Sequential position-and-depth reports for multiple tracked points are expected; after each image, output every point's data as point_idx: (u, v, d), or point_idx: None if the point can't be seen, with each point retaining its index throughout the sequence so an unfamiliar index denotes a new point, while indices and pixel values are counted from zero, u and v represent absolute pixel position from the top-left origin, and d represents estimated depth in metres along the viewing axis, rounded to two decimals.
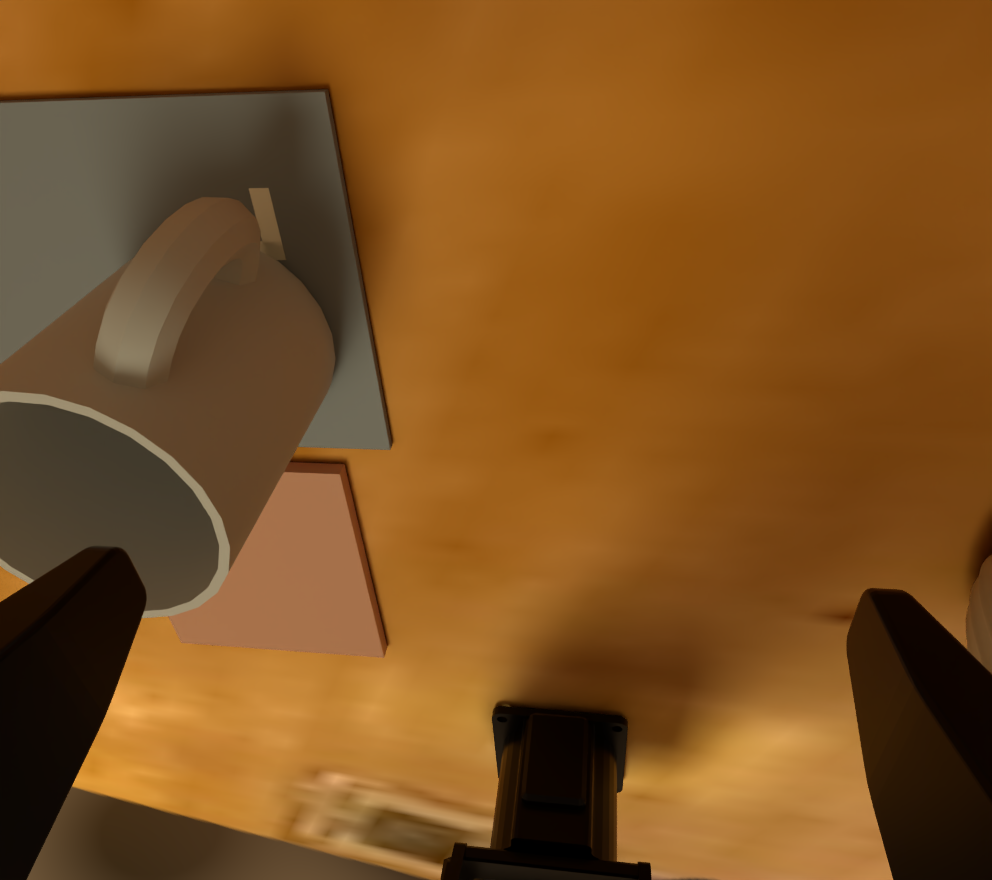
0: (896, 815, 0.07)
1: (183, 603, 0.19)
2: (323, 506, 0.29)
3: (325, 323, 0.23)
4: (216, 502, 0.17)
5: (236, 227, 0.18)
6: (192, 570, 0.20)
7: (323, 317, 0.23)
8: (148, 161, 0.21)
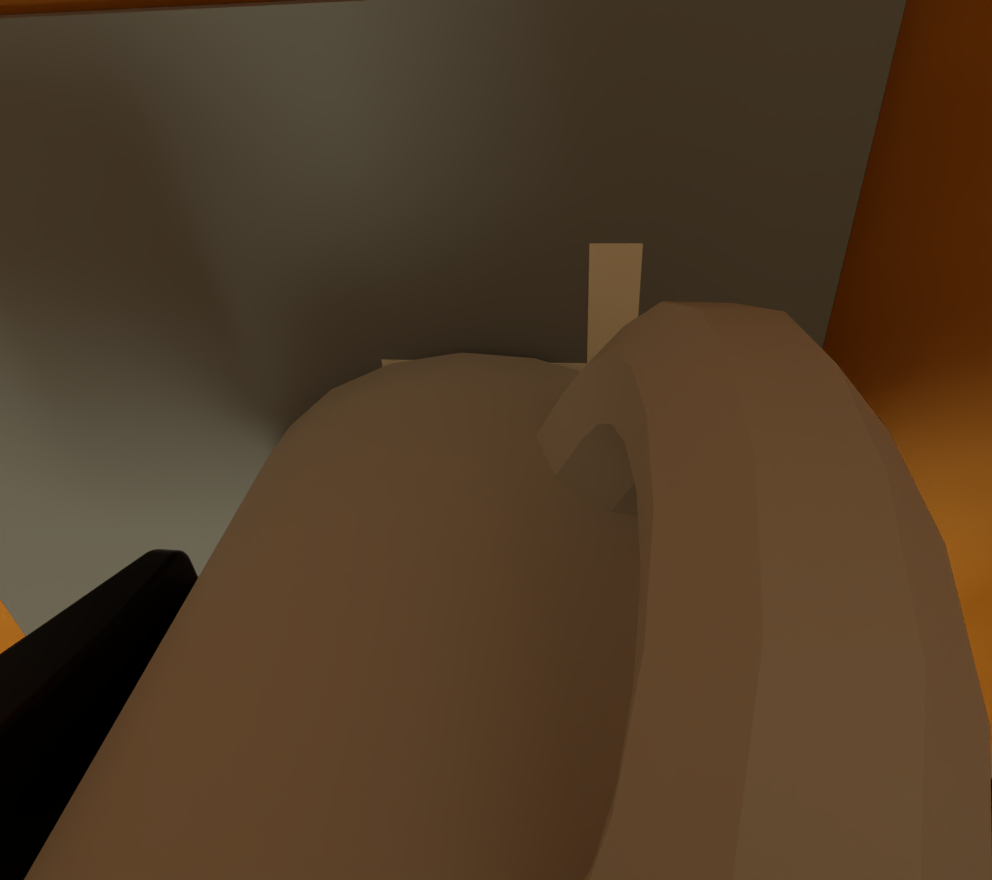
0: None
1: None
2: None
3: None
4: None
5: None
6: None
7: None
8: (338, 175, 0.08)
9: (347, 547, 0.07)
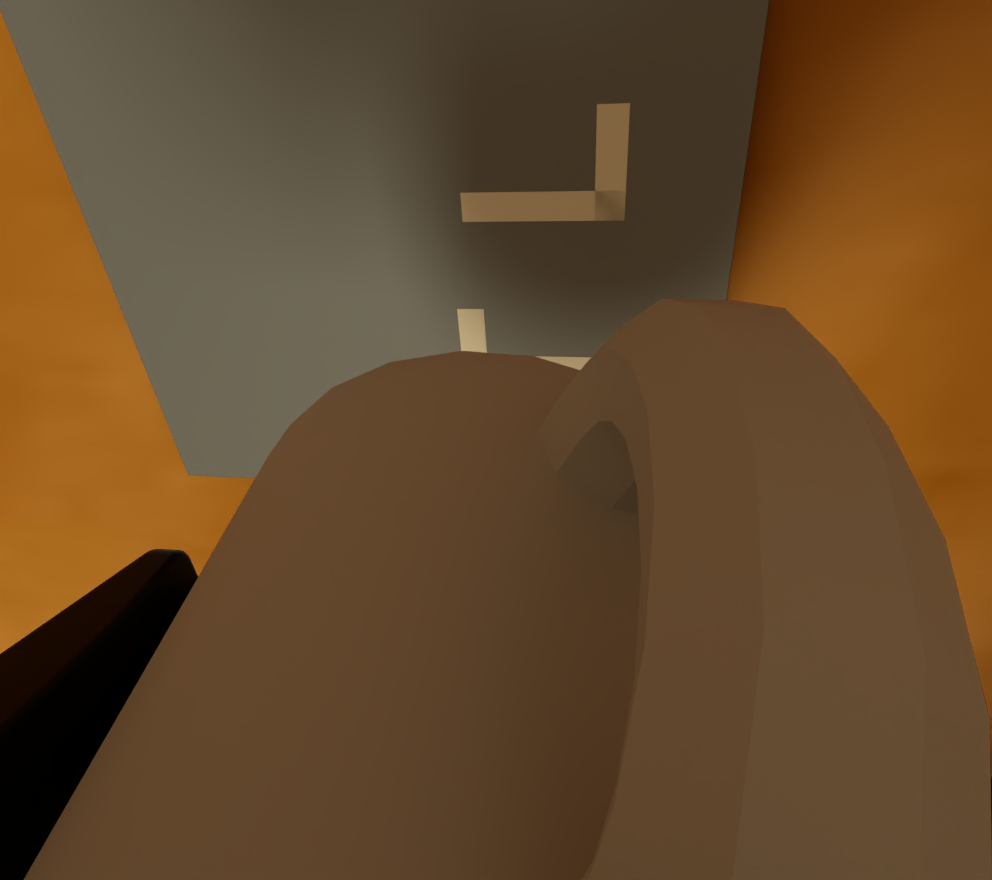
0: None
1: None
2: None
3: None
4: None
5: None
6: None
7: None
8: (441, 61, 0.14)
9: (348, 544, 0.07)
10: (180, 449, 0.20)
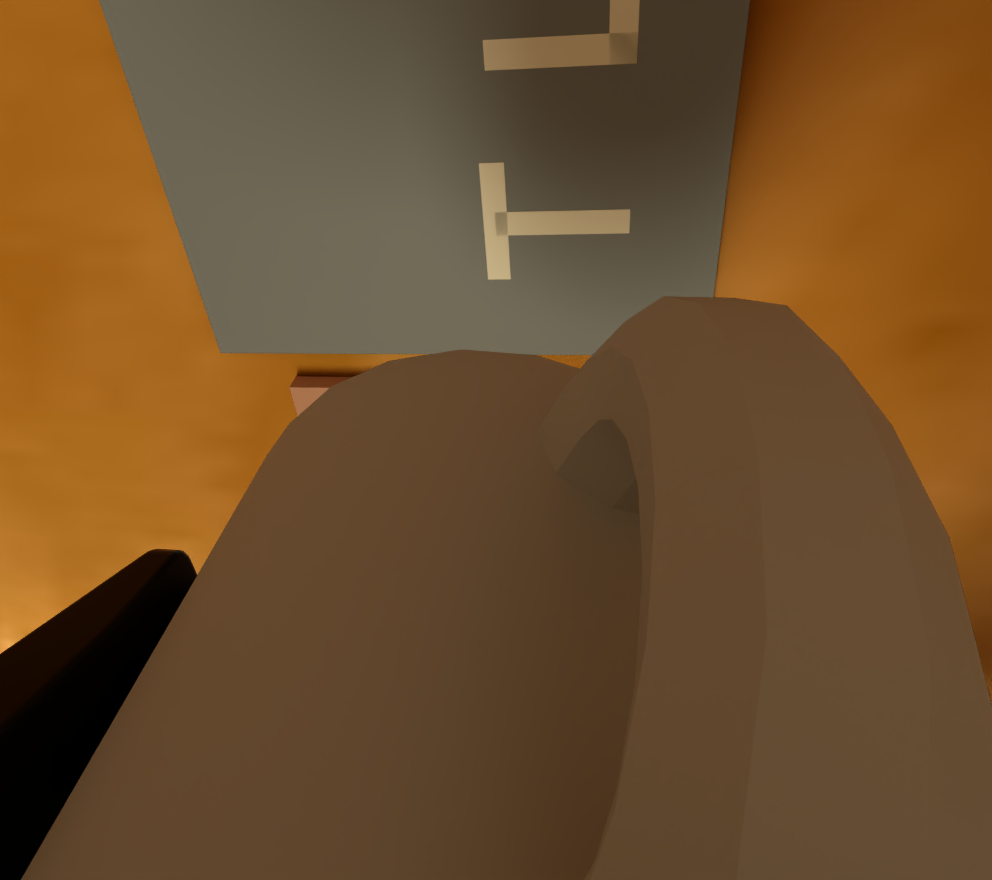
0: None
1: None
2: None
3: None
4: None
5: None
6: None
7: None
8: None
9: (347, 544, 0.07)
10: (213, 325, 0.21)
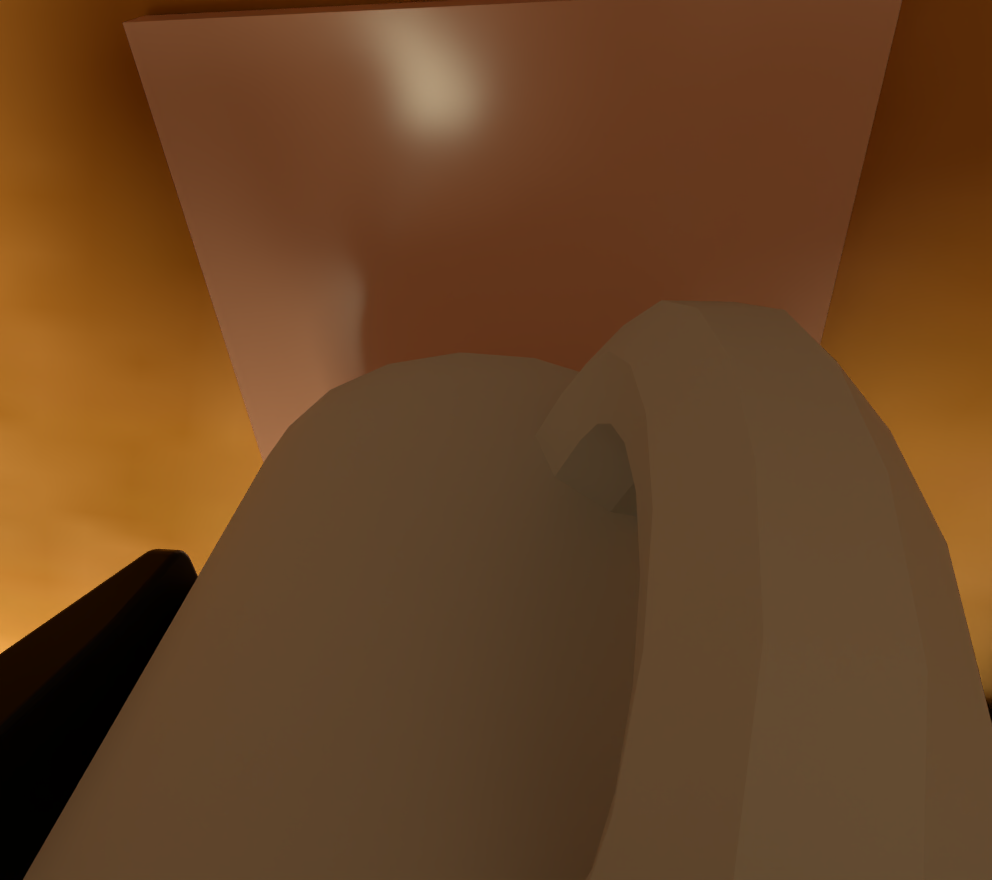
0: None
1: None
2: (793, 133, 0.10)
3: None
4: None
5: None
6: None
7: None
8: None
9: (345, 548, 0.07)
10: None
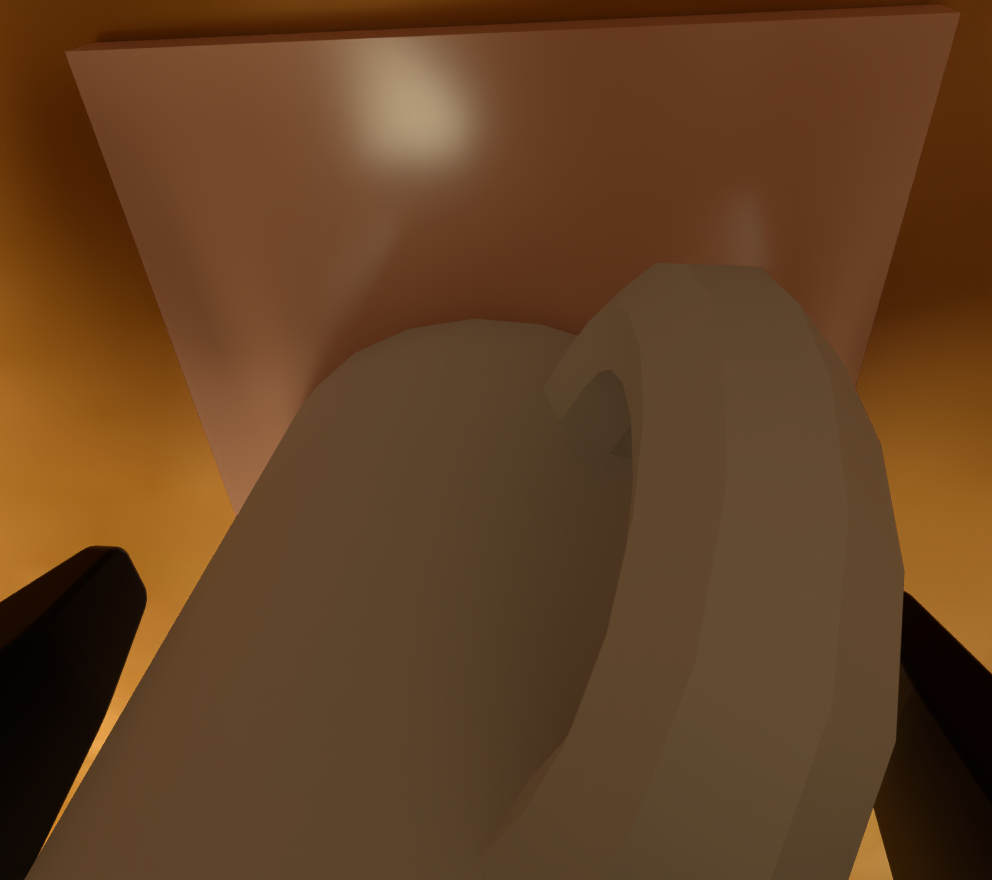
0: (896, 815, 0.07)
1: None
2: (825, 179, 0.09)
3: None
4: None
5: None
6: None
7: None
8: None
9: (376, 478, 0.07)
10: None
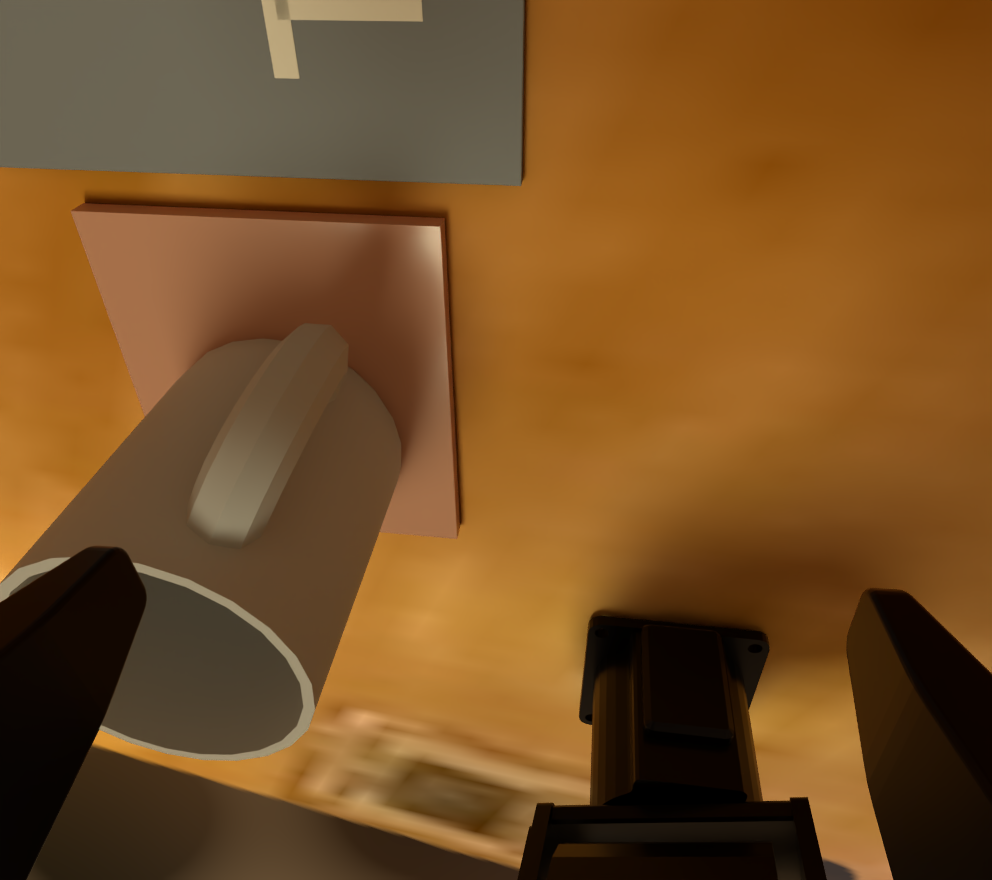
0: (896, 815, 0.07)
1: (251, 751, 0.18)
2: (407, 285, 0.20)
3: (396, 434, 0.22)
4: (307, 668, 0.16)
5: (336, 366, 0.17)
6: (255, 705, 0.19)
7: (395, 427, 0.22)
8: None
9: (193, 404, 0.18)
10: None
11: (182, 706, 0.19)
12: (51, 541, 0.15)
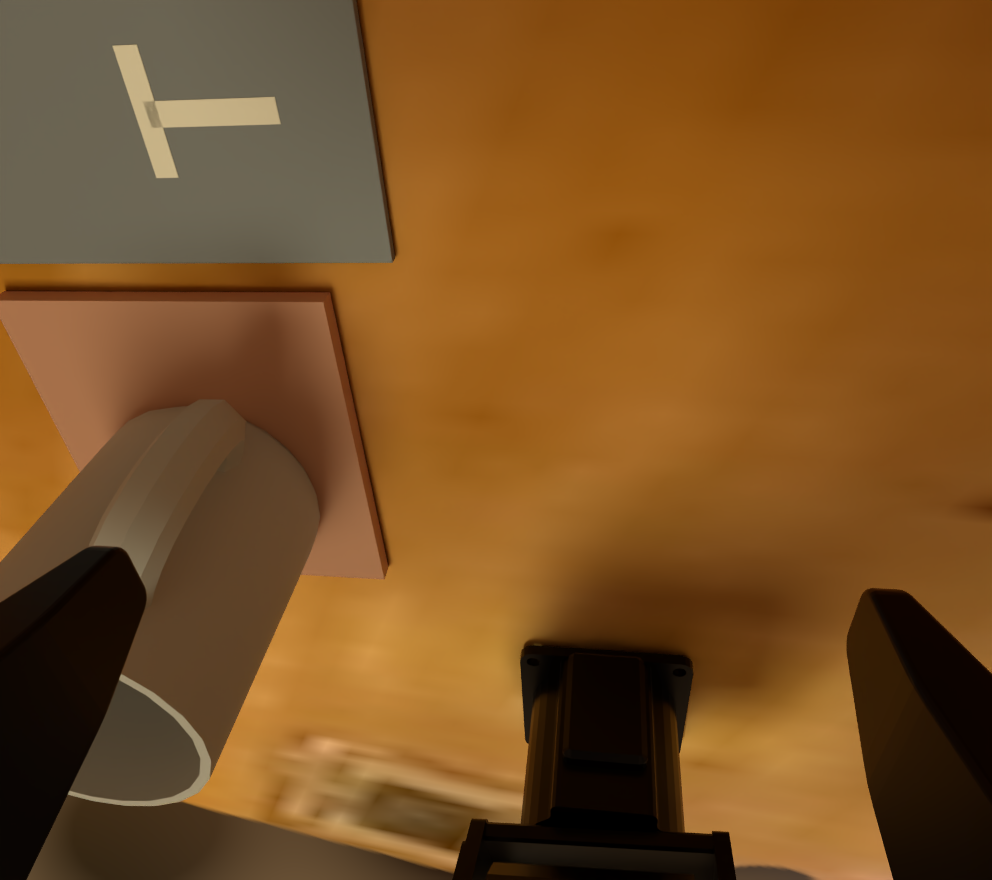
0: (896, 815, 0.07)
1: (165, 797, 0.19)
2: (302, 354, 0.21)
3: (310, 488, 0.24)
4: (197, 725, 0.17)
5: (220, 442, 0.18)
6: (174, 753, 0.21)
7: (308, 482, 0.23)
8: None
9: (102, 477, 0.20)
10: None
11: (109, 755, 0.21)
12: None
